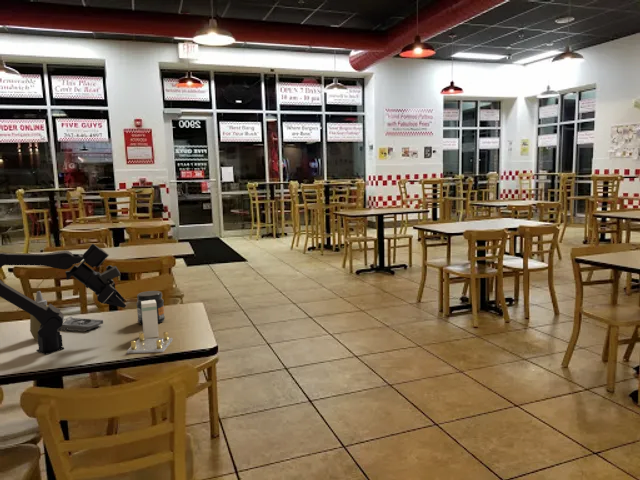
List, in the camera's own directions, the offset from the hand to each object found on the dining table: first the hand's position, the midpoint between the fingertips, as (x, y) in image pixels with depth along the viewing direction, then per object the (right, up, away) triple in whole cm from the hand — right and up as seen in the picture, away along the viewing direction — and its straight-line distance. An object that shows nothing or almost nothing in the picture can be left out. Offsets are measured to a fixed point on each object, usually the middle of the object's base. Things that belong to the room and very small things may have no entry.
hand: (124, 303), depth 182 cm
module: (+8, -13, +5) cm, 16 cm away
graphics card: (-25, -13, +17) cm, 33 cm away
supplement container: (+2, -11, +23) cm, 25 cm away
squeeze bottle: (-33, -14, +5) cm, 36 cm away
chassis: (+12, -14, -7) cm, 20 cm away
